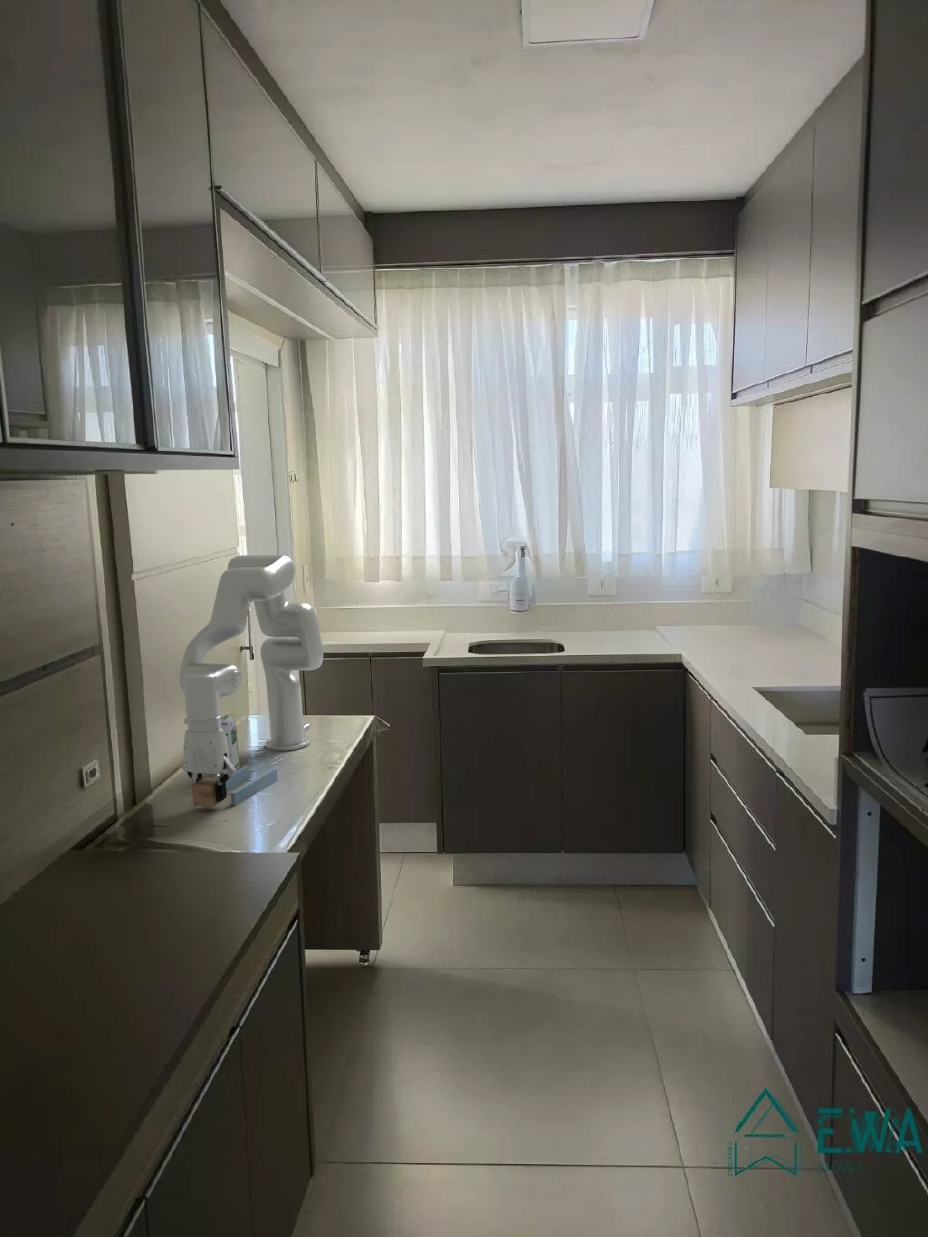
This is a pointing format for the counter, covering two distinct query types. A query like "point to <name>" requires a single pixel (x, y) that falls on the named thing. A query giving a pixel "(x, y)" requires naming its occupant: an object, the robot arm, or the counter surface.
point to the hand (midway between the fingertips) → (211, 797)
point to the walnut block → (204, 792)
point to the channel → (251, 786)
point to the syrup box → (231, 738)
